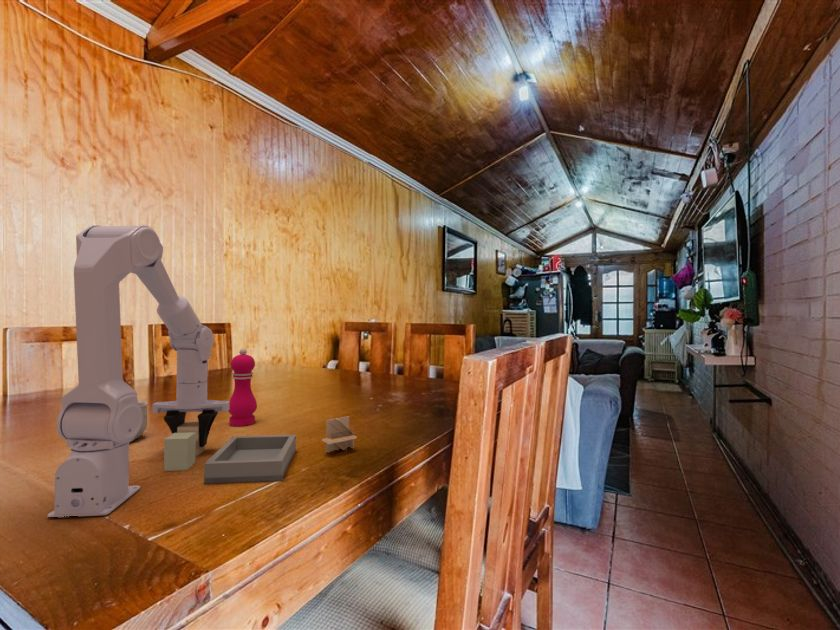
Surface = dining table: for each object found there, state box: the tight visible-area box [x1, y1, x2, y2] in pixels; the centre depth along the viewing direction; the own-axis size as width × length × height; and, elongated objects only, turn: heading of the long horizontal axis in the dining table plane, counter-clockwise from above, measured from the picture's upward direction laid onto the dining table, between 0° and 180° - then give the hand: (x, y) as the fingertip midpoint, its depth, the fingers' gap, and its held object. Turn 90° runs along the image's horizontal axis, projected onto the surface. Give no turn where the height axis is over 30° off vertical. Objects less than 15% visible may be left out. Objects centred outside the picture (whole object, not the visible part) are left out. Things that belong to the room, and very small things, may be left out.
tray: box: [203, 434, 297, 485], centre depth 81 cm, size 16×13×4 cm
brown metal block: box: [177, 421, 206, 457], centre depth 87 cm, size 4×4×6 cm
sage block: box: [163, 432, 196, 472], centre depth 80 cm, size 4×4×6 cm
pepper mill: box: [227, 348, 258, 427], centre depth 111 cm, size 7×7×20 cm
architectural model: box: [321, 416, 358, 453], centre depth 89 cm, size 3×7×7 cm, turn 131°
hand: (191, 446), depth 87 cm, fingers closed on brown metal block, 4 cm apart
